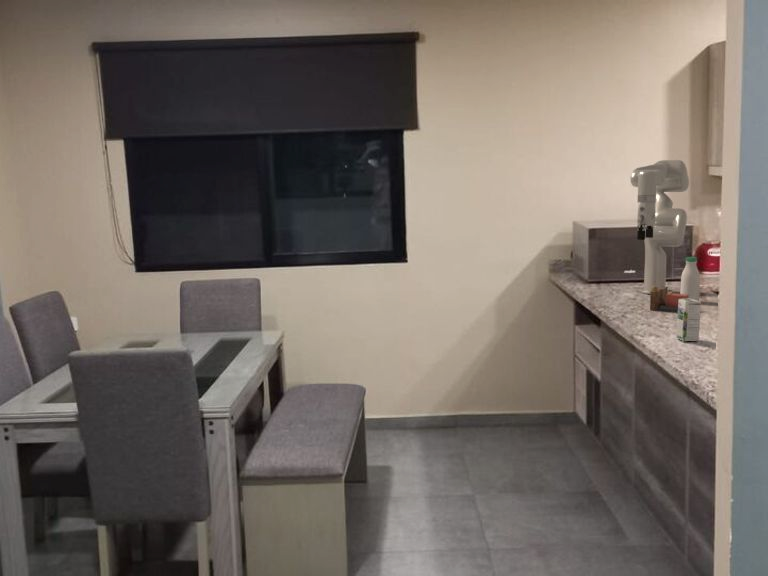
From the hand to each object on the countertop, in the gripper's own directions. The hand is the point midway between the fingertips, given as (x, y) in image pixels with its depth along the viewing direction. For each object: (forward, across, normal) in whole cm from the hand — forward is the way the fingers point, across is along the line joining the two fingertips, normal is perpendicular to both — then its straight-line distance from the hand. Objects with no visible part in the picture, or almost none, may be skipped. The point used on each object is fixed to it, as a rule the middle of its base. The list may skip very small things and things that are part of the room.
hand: (645, 238), depth 330 cm
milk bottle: (+28, +10, -17) cm, 35 cm away
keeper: (+28, -9, -18) cm, 34 cm away
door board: (+28, -9, -10) cm, 31 cm away
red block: (+28, -9, -17) cm, 34 cm away
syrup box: (+28, -61, -38) cm, 77 cm away
